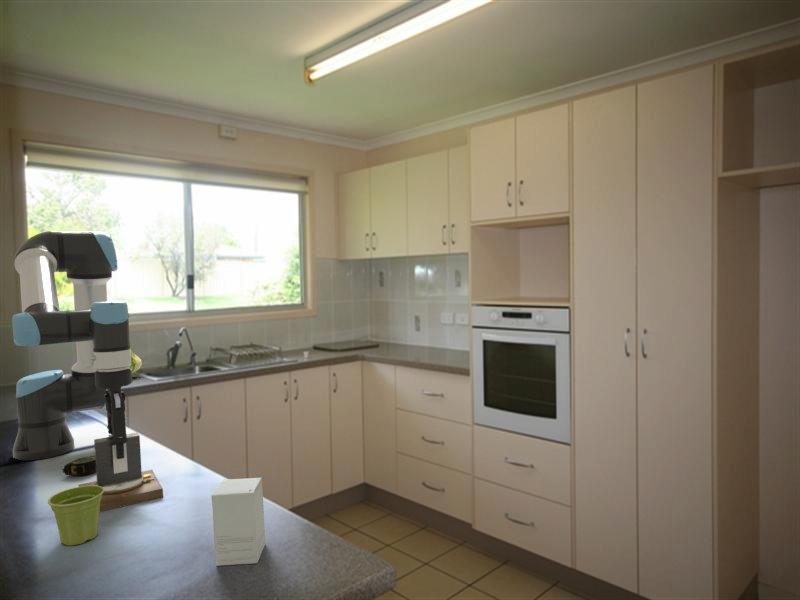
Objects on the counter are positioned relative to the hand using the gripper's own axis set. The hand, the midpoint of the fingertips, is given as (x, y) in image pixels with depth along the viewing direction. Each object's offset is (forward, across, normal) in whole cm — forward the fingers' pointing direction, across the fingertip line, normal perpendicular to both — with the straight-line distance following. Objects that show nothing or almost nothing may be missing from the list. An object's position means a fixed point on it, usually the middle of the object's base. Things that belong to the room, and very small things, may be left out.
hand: (118, 466), depth 126 cm
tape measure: (+7, -22, -7) cm, 24 cm away
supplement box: (+7, +44, +15) cm, 47 cm away
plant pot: (+7, +19, -9) cm, 22 cm away
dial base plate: (+7, 0, 0) cm, 7 cm away
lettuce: (+7, -167, +15) cm, 168 cm away
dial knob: (+4, 0, +1) cm, 4 cm away
